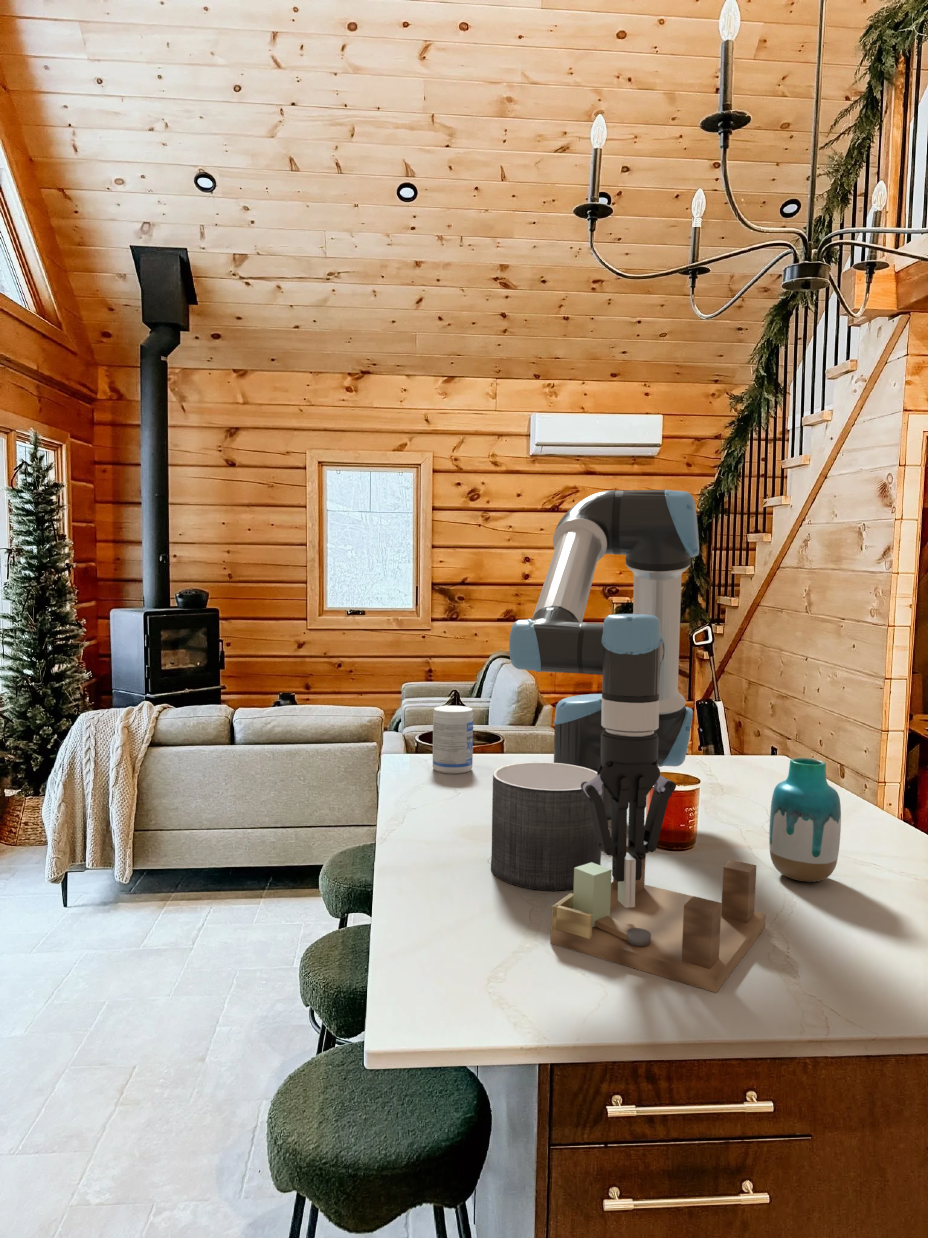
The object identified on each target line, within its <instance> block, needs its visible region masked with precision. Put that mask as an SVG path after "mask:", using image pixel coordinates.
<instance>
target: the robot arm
mask: <svg viewBox="0 0 928 1238" xmlns="http://www.w3.org/2000/svg"><path fill="white" fill-rule="evenodd" d="M699 541H700V539H699V527H698V516H697V507H696V502H695V498H694V496H693V494H691V493H690V492H689V491H685V490H674V489H673V490H669V489H642V490H641V489H637V490H636V489H634V490H633V489H632V490H629V489H628V490H616V489H614V490H613V489H611V490H610V489H608V490H604V491H599V492H596V493H593V494H591V495H589V496H587V497H584V498H583V499H581V500H579V501H578V502H577V503H575V504H574V505H573V506H572V507H571V508H569V510H568V511H567V512H566V513H564V515H563V516H562V518H560V520H559V522H558V523H557V525H556V528H555V530H554V533H553V536H552V545H553V549H554V551H553V555H552V558H551V561H550V564H549V567H548V570H547V573H546V575H545V579H544V582H543V586H542V589H541V591H540V594H539V597H538V599H537V603H536V606H535V609H534V612H533V615H532V618H527V619H518V620H516V621H514V622H513V624H512V626H511V629H510V634H509V642H508V651H509V658H510V659H509V660H510V663H511V665H512V666H513V667H514V668H515V669H518V670H523V671H524V670H525V671H535V672H536V673H541V672H542V673H565V674H585V675H597V676H598V675H599V676H602V679H601V680H602V683H601V684H602V688H601V689H602V690H601V691H602V692H601V693H589V694H580V695H573V696H568V697H565V698H561V700H559V701H558V703H557V704H556V706H555V714H554V722H553V725H554V734H553V735H554V741H553V763H561V764H569V765H575V766H580V767H584V768H588V769H591V770H594V771H596V772H597V776H596V777H595V778H594V779H592V780H591V781H590V782H583V783H582V784H581V789H582V790H583V792H584V793H585V795H586V796H587V798H588V801H589V805H590V810H591V814H592V819H593V823H594V828H595V832H596V836H597V841H598V845H599V848H600V849H601V852H604V854H605V855H607V856H611V857H612V858H611V861H612V863H611V866H612V868H611V870H612V871H611V877H613V878H614V879H615V880H616V881H617V882H618V901H619V902H620V903H621V904H622V905H623V906H624V907H625V908H629V907H635V880H640V879H641V876H642V860H643V859H645V860H646V858H645V857H646V856H647V854H648V853H654V852H656V850H657V845H658V843H659V839H660V836H661V835H660V833H661V831H662V827H663V822H664V819H665V815H666V812H667V807H668V802H669V800H670V798H671V796H672V795H673V793H674V791H675V790H676V789H677V784H676V782H674V781H672V780H670V779H669V778H667V777H664V776H663V775H661V769H660V768H661V767H680V766H682V764H683V763H684V762H685V760H686V756H687V753H688V752H687V751H688V749H689V743H690V737H691V736H690V735H691V730H692V723H693V715H694V711H693V709H692V707H688V706H686V704H687V703H686V698H685V697H684V696H683V694H681V693H680V692H679V668H680V667H679V664H680V663H679V662H680V658H679V657H680V635H681V634H680V633H681V602H682V601H681V599H682V574H683V573H685V572H686V570H688V569H689V568H690V567H691V563H692V561H691V560H692V559H691V558H695V557H698V556H699V554H700V542H699ZM605 555H615V556H616V555H620V556H621V555H623V556H624V555H625V566H626V567H627V569H629V570H630V571H631V572H632V573H633V606H632V609H633V612H632V613H617V614H615V613H614V614H612V613H611V614H608V615H607V616H606V617H605V618H604V620H603V622H584V621H583V620H584V616H585V614H586V613H585V612H586V608H587V605H588V601H589V596H590V594H591V589H592V584H593V581H594V580H593V579H594V576H595V572H596V569H597V564H598V562H599V561H600V560H601V559H602V558H603V557H604V556H605ZM659 767H660V768H659ZM602 784H603V785H604V794H603V801H602V798H601V796H600V795H601V794H602ZM652 789H653V790H654V791H653V793H652V795H651V800H650V802H649V806H648V810H647V814H646V819H645V813H646V811H645V809H646V808H647V799H648V798H647V796H648V795H649V793H650V791H651V790H652ZM609 819H611V822H610V823H611V824H610V826H609V824H608V823H609V822H608V820H609ZM627 825H628V828H627ZM610 827H611V829H610ZM627 832H628V833H627ZM627 834H628V836H627ZM627 838H628V850H629V853H626V841H627ZM645 854H646V855H645Z"/></svg>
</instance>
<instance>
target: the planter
mask: <svg viewBox="0 0 928 1238" xmlns="http://www.w3.org/2000/svg"><path fill="white" fill-rule="evenodd" d="M596 776H597V772H596V771H594V770H591V769H588V768H584V767H580V766H575V765H569V764H561V763H554V762H549V761H548V762H546V761H541V762H540V761H539V762H538V761H537V762H536V761H534V762H531V761H530V762H521V763H519V762H517V763H511V764H507V765H503V766H501V767H498V768H497V769H495V770H494V771H493V772H492V800H491V801H492V805H491V806H492V809H491V815H492V816H491V857H490V858H491V860H490V870H491V872H492V874H493V875H495V877H497V878H498V879H500V880H502V881H504V882H506V883H508V884H509V885H510V884H511V885H514V886H517V887H521V888H525V889H529V890H538V891H568V890H574V868H575V867H578V866H581V865H585V864H588V863H591V862H592V863H595V864H598V865H600V866H602V865H601V859H602V850H601V849H600V848H599V845H598V841H597V836H596V832H595V828H594V823H593V819H592V814H591V810H590V805H589V801H588V798H587V796H586V795H585V793H584V792H583V790H582V789H581V784H582V783H583V782H590V781H591V780H592V779H594V778H595V777H596ZM603 794H604V785H603V784H602V794H601V795H600V796H601V798H602V801H603Z"/></svg>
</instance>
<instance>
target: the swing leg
mask: <svg viewBox="0 0 928 1238" xmlns="http://www.w3.org/2000/svg"><path fill="white" fill-rule="evenodd" d="M611 883H612V868H611V869H610V868H608V867H605V866H603V865H601V866H600V865H598V864H595V863H592V862H591V863H588V864H585V865H581V866H578V867H575V868H574V889H573V891H572V892H573V893H572V894H573V909H575V910H578V911H582V912H586V913H589V914H592V927H598V928H600V929H602V930H604V931H606V932H609V933H611V934H613V935H615V936H617V937H620V938H622V939H624V940H626V941H627V942H628V943H630V944H632V945H636V946H647V945H649V944H650V943H651V933H650V932H649V931H647V930H645V929H641V928H634V927H632V926H629V925H627V924H625V923H622V922H620V921H618V920H616V919H613V918H611V917H610V899H611Z"/></svg>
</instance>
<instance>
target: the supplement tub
mask: <svg viewBox="0 0 928 1238" xmlns="http://www.w3.org/2000/svg"><path fill="white" fill-rule="evenodd" d="M473 712H474V711H473V708H472V707H469V706H463V705H441V706H436V707H434V708H433V717H432V768H433V770H434V771H437V772H438V773H442V774H463V773H464V774H465V773H467V772H470V771H471V770H472V769H473V756H474V754H473V753H474V750H473V749H474V744H473V743H474V713H473Z"/></svg>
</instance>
